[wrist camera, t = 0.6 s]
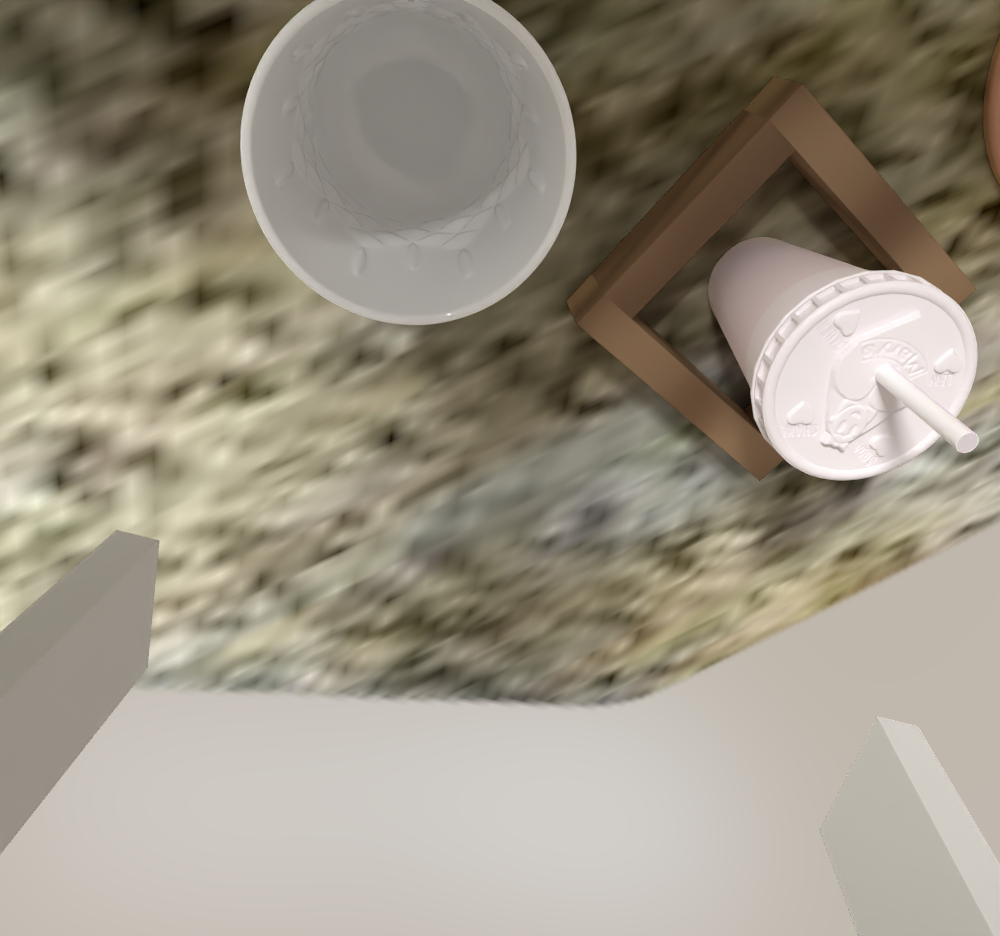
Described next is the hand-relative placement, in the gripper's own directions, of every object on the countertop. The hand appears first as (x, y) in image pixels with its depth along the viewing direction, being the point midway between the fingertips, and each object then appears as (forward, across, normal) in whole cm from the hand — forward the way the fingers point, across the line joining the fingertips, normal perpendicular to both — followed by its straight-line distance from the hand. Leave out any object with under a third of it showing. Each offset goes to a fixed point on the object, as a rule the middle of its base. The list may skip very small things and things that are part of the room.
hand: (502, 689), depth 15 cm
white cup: (+18, -7, +9) cm, 21 cm away
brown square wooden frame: (+21, +7, +6) cm, 23 cm away
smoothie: (+21, +7, +6) cm, 23 cm away
